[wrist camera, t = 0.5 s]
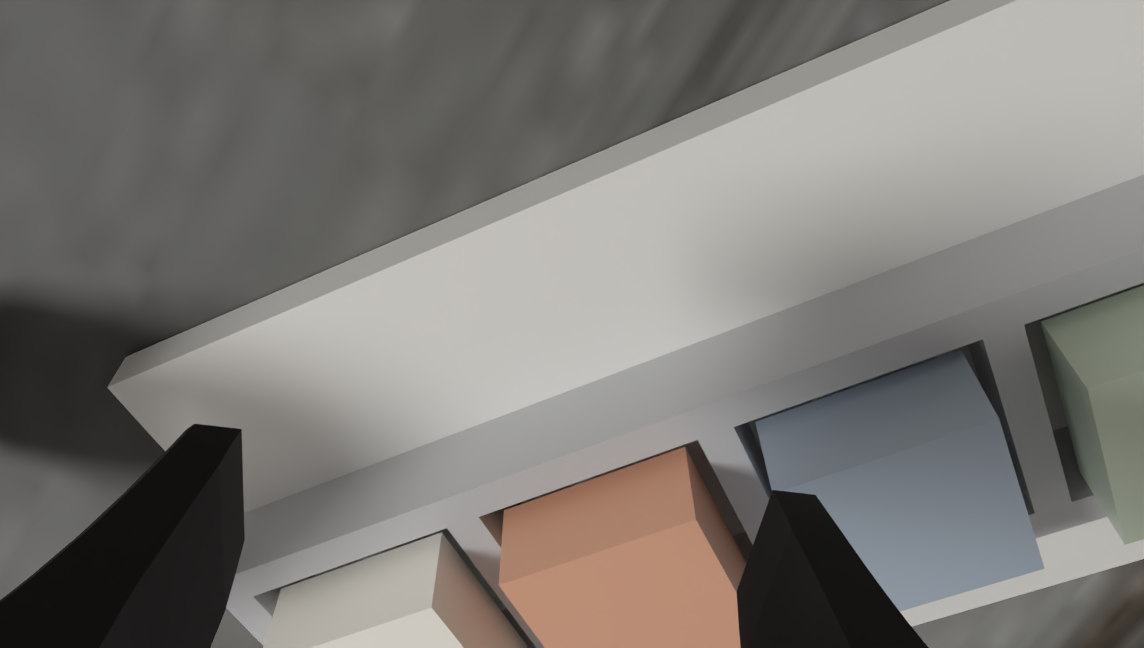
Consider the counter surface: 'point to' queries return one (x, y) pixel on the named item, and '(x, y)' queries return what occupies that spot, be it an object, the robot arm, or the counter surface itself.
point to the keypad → (698, 304)
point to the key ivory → (393, 605)
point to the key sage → (1105, 401)
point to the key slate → (911, 479)
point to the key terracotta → (625, 561)
